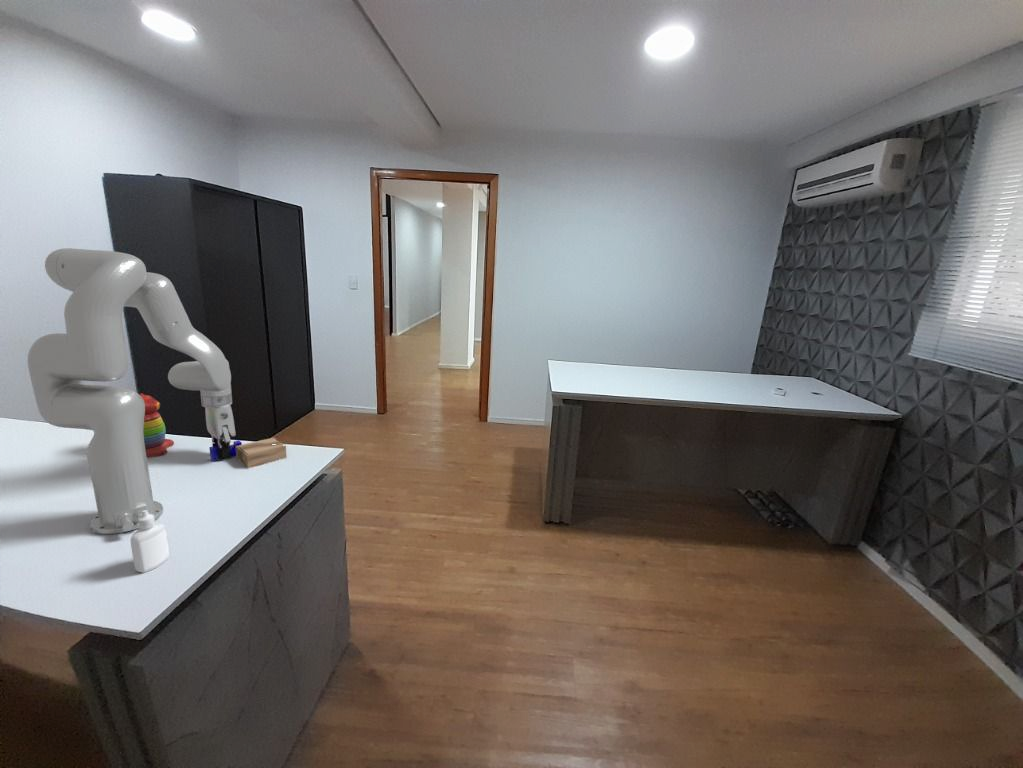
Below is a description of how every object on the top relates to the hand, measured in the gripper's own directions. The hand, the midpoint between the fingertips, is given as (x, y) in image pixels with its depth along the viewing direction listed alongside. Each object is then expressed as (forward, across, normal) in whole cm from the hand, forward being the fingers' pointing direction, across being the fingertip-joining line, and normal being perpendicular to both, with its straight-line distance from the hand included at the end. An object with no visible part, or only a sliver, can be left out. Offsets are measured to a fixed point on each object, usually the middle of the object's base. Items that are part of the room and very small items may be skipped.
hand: (222, 456), depth 132 cm
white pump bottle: (+1, -44, +26) cm, 51 cm away
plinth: (0, -8, -8) cm, 11 cm away
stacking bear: (+1, +18, +14) cm, 23 cm away
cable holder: (0, 0, -1) cm, 1 cm away
